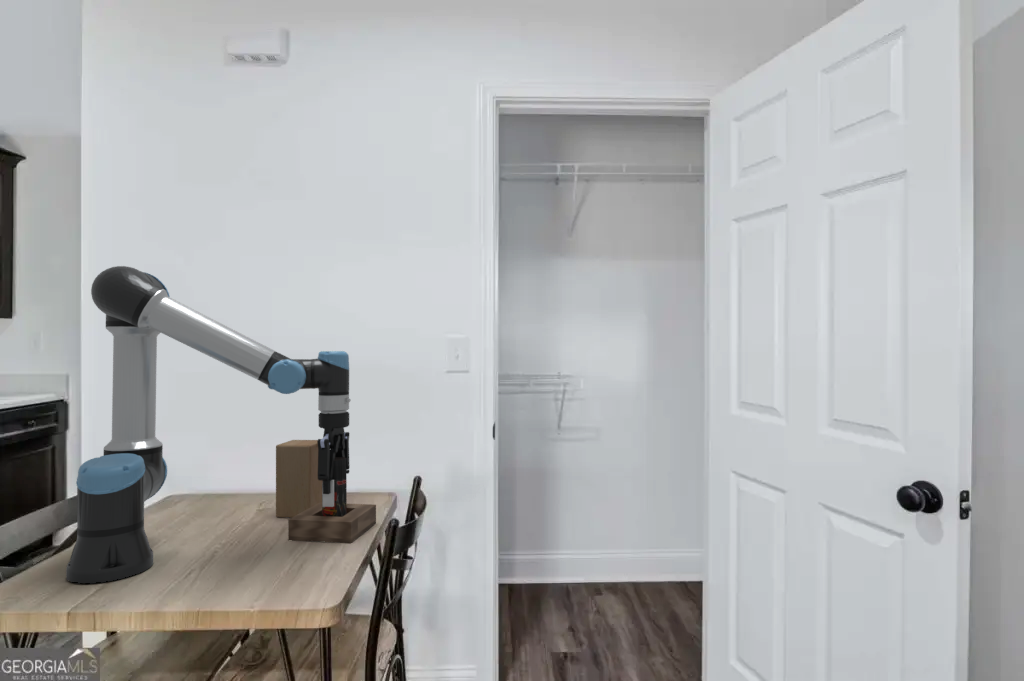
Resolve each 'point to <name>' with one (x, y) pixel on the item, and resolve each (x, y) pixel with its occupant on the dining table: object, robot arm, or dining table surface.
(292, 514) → the wooden block
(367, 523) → the socket block
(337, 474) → the deodorant
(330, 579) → the dining table surface
